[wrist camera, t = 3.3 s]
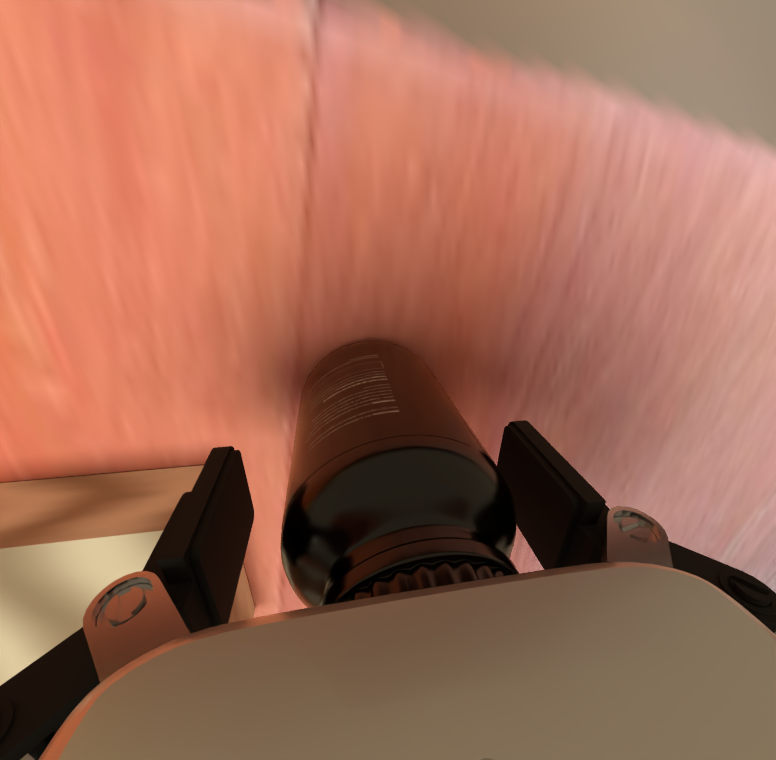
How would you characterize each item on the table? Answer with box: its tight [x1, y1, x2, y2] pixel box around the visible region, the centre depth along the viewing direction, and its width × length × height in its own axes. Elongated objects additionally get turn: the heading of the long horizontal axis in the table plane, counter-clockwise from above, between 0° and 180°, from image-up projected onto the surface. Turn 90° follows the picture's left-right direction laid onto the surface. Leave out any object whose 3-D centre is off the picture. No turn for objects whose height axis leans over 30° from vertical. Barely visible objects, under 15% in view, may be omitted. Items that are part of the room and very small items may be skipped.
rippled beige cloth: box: [0, 465, 255, 686], centre depth 17 cm, size 12×12×4 cm
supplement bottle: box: [281, 341, 519, 608], centre depth 12 cm, size 7×7×12 cm
